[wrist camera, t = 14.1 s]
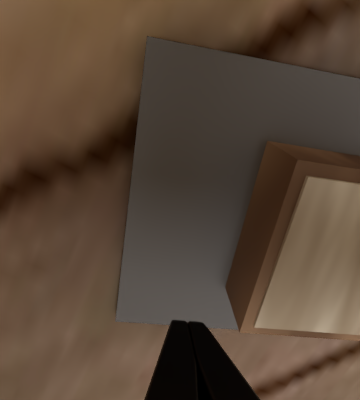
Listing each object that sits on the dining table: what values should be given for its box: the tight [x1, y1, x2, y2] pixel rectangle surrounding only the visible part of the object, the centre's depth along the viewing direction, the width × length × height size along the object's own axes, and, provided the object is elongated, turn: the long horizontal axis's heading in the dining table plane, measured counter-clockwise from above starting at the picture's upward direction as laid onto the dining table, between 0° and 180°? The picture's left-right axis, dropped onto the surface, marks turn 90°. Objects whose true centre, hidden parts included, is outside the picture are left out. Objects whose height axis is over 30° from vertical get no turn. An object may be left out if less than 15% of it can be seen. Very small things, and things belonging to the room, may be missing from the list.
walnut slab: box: [225, 141, 360, 341], centre depth 13 cm, size 3×8×8 cm
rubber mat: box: [115, 36, 360, 330], centre depth 15 cm, size 16×14×1 cm
